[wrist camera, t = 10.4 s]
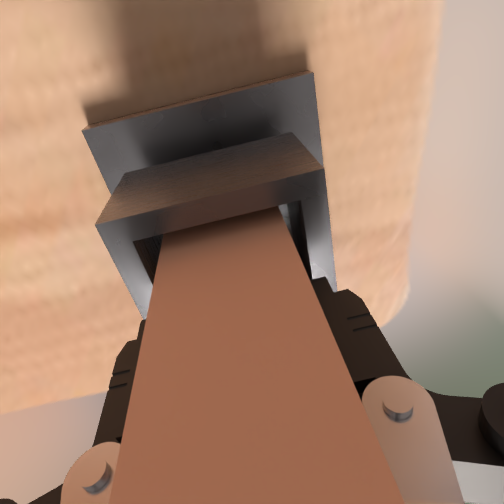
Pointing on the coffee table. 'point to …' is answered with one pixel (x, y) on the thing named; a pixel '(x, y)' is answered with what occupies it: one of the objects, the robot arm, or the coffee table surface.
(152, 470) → the rail post
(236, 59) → the coffee table surface
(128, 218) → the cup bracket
